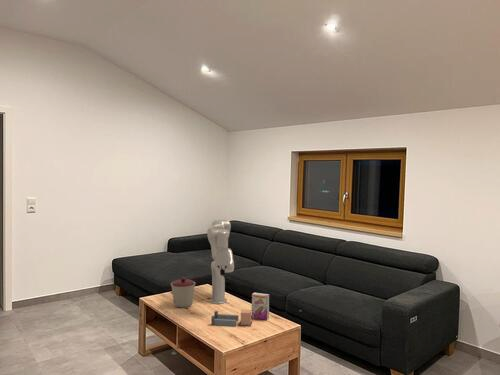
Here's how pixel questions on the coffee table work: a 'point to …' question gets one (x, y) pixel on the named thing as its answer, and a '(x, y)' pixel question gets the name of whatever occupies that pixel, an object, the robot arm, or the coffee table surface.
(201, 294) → the coffee table surface
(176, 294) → the canister
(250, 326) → the mat
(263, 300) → the candy bar box
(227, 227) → the robot arm
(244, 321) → the block
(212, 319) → the grey u-shaped bracket
